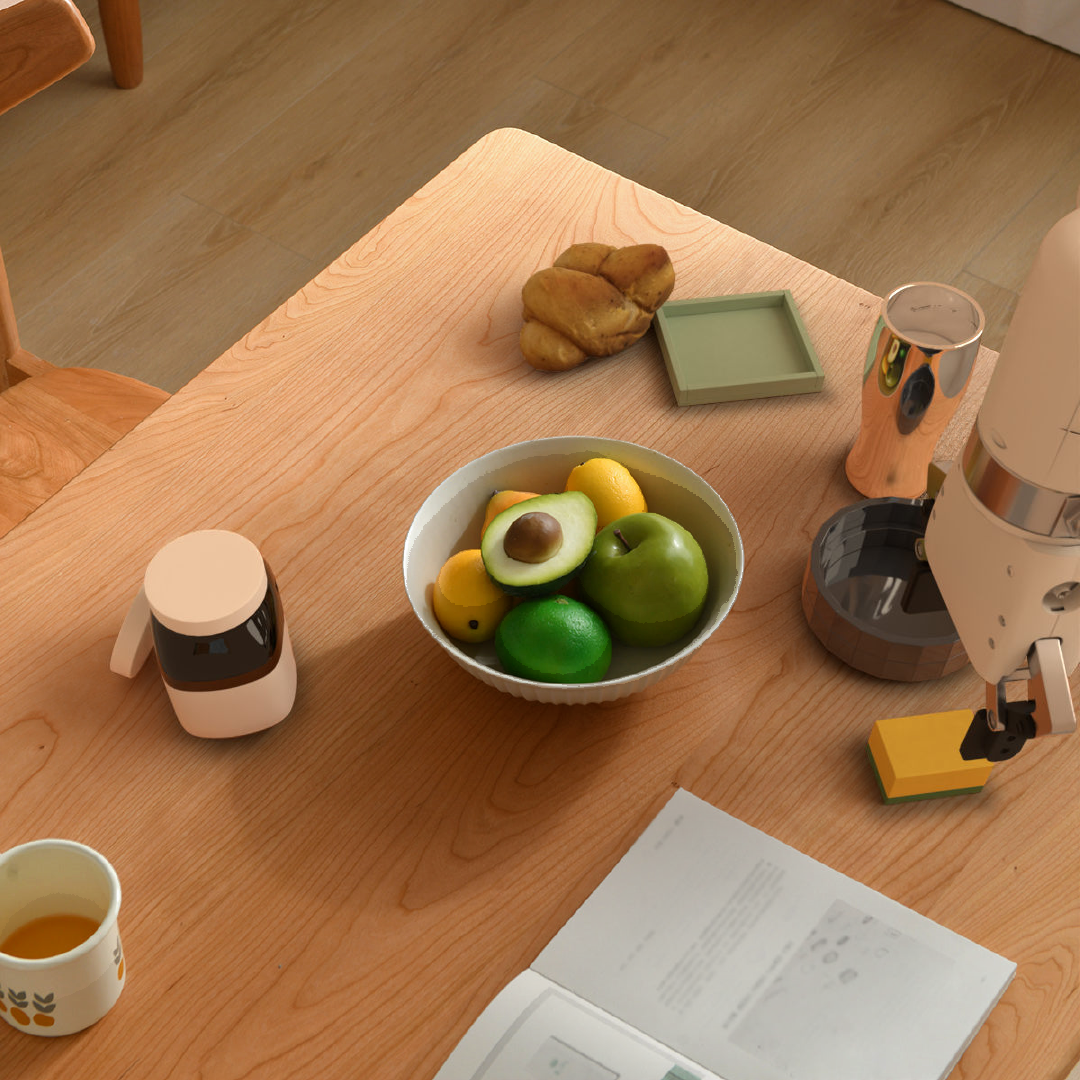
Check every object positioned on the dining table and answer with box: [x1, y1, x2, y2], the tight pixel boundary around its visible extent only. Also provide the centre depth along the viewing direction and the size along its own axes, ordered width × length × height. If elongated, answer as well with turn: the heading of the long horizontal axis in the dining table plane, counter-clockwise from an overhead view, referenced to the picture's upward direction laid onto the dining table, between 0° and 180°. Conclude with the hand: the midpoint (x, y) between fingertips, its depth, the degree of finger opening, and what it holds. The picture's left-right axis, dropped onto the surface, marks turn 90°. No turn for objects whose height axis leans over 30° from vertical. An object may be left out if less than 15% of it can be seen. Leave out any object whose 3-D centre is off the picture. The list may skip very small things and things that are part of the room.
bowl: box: [801, 496, 971, 683], centre depth 89 cm, size 12×12×4 cm
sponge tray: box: [651, 288, 826, 407], centre depth 106 cm, size 11×10×2 cm
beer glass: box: [844, 281, 986, 499], centre depth 92 cm, size 7×7×15 cm
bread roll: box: [518, 242, 676, 373], centre depth 105 cm, size 13×10×8 cm
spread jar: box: [109, 528, 298, 740], centre depth 82 cm, size 12×11×12 cm
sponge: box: [865, 708, 995, 806], centre depth 81 cm, size 6×4×3 cm, turn 98°
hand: (956, 677), depth 74 cm, fingers open, 9 cm apart
